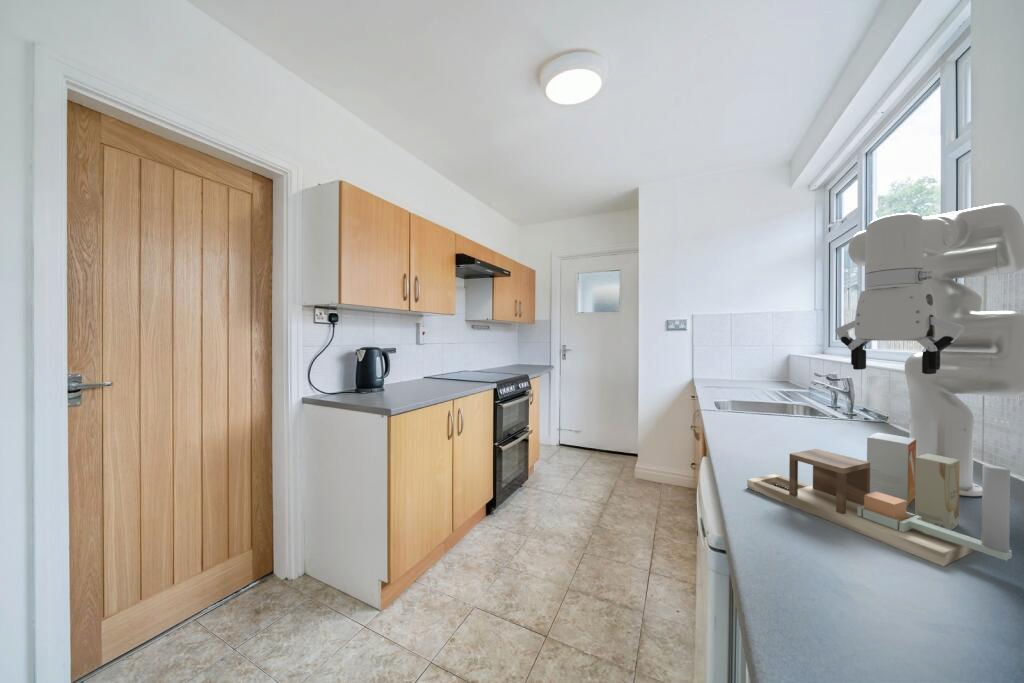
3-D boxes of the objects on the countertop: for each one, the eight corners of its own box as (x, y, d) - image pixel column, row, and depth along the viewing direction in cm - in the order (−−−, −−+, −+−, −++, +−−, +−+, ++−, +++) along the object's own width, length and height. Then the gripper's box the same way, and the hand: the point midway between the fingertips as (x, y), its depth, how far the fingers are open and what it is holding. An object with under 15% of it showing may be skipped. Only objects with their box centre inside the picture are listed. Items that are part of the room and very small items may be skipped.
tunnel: (815, 487, 77) (815, 448, 77) (869, 505, 68) (870, 462, 68) (789, 494, 73) (789, 453, 73) (842, 514, 65) (843, 468, 65)
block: (876, 512, 66) (876, 491, 66) (906, 523, 62) (906, 500, 62) (864, 516, 64) (864, 494, 64) (894, 527, 60) (894, 504, 60)
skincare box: (949, 533, 62) (950, 464, 62) (913, 521, 66) (914, 457, 66) (960, 524, 65) (961, 458, 65) (925, 514, 69) (926, 452, 69)
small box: (908, 507, 72) (909, 444, 72) (865, 495, 77) (866, 436, 77) (916, 497, 76) (917, 438, 76) (875, 487, 82) (875, 431, 82)
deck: (775, 481, 85) (775, 473, 85) (972, 551, 57) (973, 539, 57) (747, 488, 81) (747, 479, 81) (943, 566, 53) (943, 553, 53)
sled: (875, 509, 66) (876, 439, 66) (1017, 557, 52) (1018, 467, 52) (857, 515, 64) (858, 442, 64) (1000, 567, 50) (1001, 473, 50)
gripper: (973, 275, 60) (972, 375, 61) (847, 288, 76) (846, 367, 77) (953, 272, 58) (952, 376, 58) (826, 287, 74) (826, 368, 74)
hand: (892, 371), depth 67 cm, fingers open, 9 cm apart
